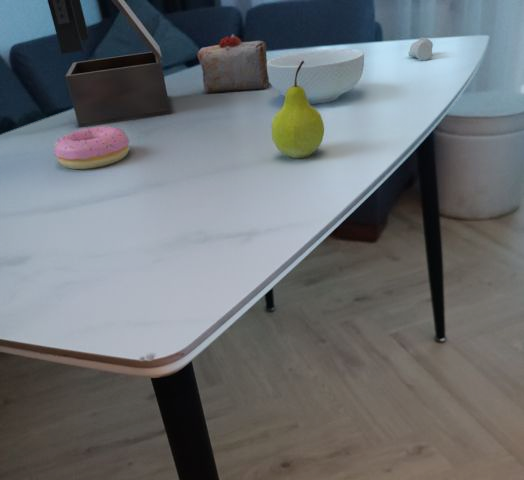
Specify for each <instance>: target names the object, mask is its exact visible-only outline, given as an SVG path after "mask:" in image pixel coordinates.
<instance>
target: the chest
mask: <svg viewBox="0 0 524 480" xmlns="http://www.w3.org/2000/svg"><path fill="white" fill-rule="evenodd" d="M65 81H66V84H67V88H68V91H69V95H70V99H71V102H72V106H73V111H74V115H75V118H76V121H77V124H78V128H85V127H92V126H93V127H94V126H100V125H107V124H111V123H118V122H125V121H132V120H138V119H145V118H153V117H158V116H160V117H161V116H166V115H171V114H172V113H171V107H170V103H169V96H168V91H167V86H166V80H165V74H164V69H163V63H162V59H161V60H160V61H159V60H158V59H157V58H156V57H155V55H154V54H153V53H152V51H148V52H139V53H133V54H126V55H118V56H111V57H104V58H97V59H90V60H83V61H75V62H72V64H71V65H70V67H69V69H68V71H67V72H66V74H65Z"/></svg>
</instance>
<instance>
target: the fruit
mask: <svg viewBox="0 0 524 480" xmlns="http://www.w3.org/2000/svg"><path fill="white" fill-rule="evenodd" d="M303 63H304V61H302V62H301V64H300V65H299V67H298V69H297V72H296V76H295V83H294V86H292V87H290V88H289V89H288V91H287V93H286V96H284V97H285V98H284V103H283V106H282V108H281V109H279V111H278V112H276V113H275V115H274V117H273V118H272V121H271V127H270V129H271V130H270V131H271V138H272V140H273V141H272V142H273V144H274V146H275V148H276V149H277V150H278V151H279V152H280V153H281V154H284V155H286V156H288V157H290V158H292V159H305V158H308V157H310V156H311V155H313V153H315V152H316V151H317V150H318V148H319V147H321V146H320V145H321V144H322V142H323V139H324V133H325V125H324V121H323V118H322V116H321V114H320V113H319V111H318V110H317V109H316V108H315V107H314V106H312V104H309V103H308V100H307V98H306V94H305V91H304V89H303V88H302V87H301V86H297V81H296V80H297V74H298V72H299V70H300V69H301V66H302V65H303Z"/></svg>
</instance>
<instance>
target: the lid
mask: <svg viewBox="0 0 524 480" xmlns="http://www.w3.org/2000/svg"><path fill="white" fill-rule="evenodd" d="M111 1H112V2H113V4H114V5H115V7H116V8H117V9H118V11H119V12H120V13H121V14H122V15H123V17H124V18H125V19H126V20H127V22H128V23H129V25H130V26H131V27H132V29H133V30H134V31H135V32H136V34H138V36H139V37H140V39H141V40H142V41H143V43H145V46H147V48H148V49H149V50H150V52H152V53H153V54H154V55H155V57H156V58H157V59H158V60H159V61H160V60H161V61H162V60H163V56H162V51H161V48H160V45H159V44H158V42H156V40H155V39H154V38H153V36H152V35H151V34H150V32H149V31H148V30H147V28H146V27H145V26H144V24H143V23H142V22H141V20H140V19H139V18H138V17H137V15H136V14H135V13H134V12H133V10H132V9H131V7H130V6H129V5H128V4H127V2H126V1H125V0H111Z"/></svg>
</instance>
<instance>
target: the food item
mask: <svg viewBox="0 0 524 480" xmlns="http://www.w3.org/2000/svg"><path fill="white" fill-rule="evenodd" d="M197 58H198V62H199V65H200V67H201V71H202V83H203V88H204V92H205V94H217V93H218V94H219V93H225V92H227V93H228V92H240V91H255V90H265V89H267V88H269V85H270V81H269V78H268V73H267V62H268V59H267V44H266V42H265V41H263V40H253V41H242V39H241V38H240V37H237V36H235V34H234V33H232V34H231V35H230V37H228V35H226V36H225V37H223V38H221V39H220V42H219V43H218V44H215V45H210V46H206V47H201V48H200V49H199V51H197Z"/></svg>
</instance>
